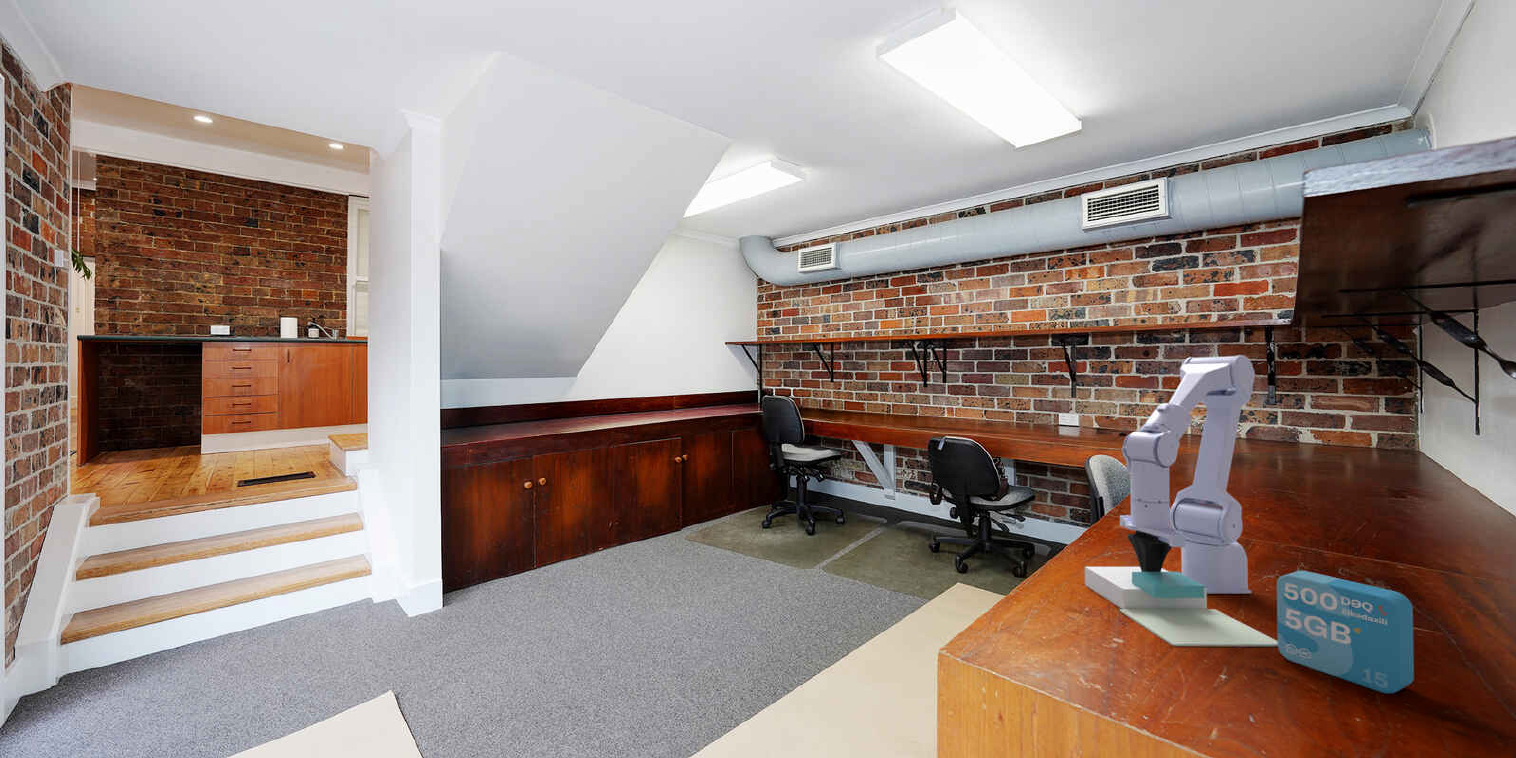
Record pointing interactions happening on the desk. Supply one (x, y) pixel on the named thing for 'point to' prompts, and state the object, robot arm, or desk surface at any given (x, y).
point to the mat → (1198, 627)
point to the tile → (1168, 585)
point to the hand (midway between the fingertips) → (1150, 576)
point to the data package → (1346, 630)
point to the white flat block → (1133, 590)
